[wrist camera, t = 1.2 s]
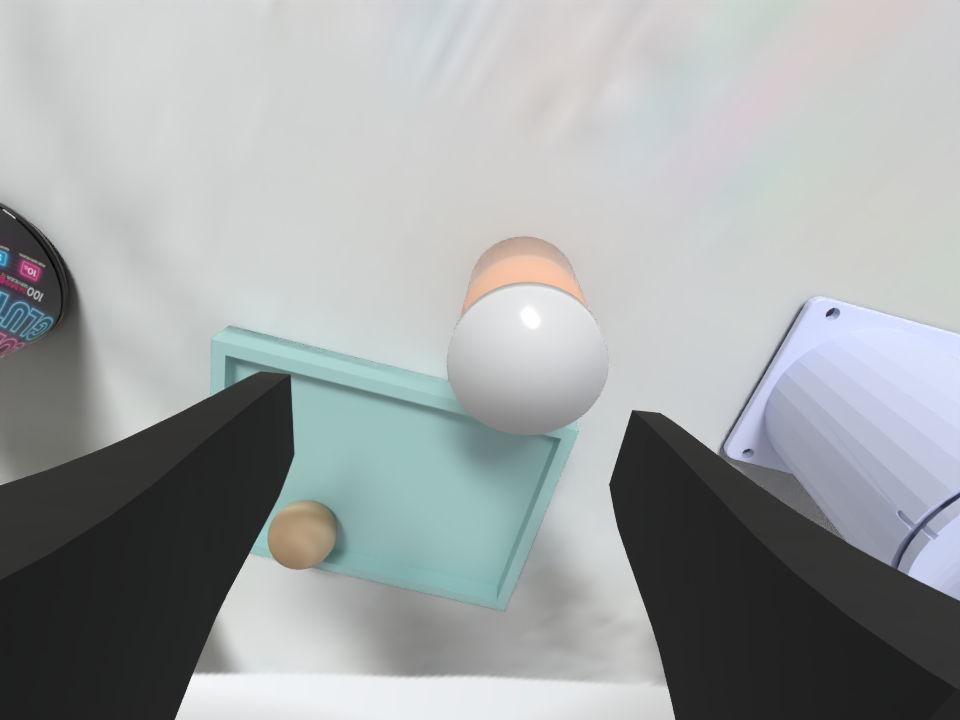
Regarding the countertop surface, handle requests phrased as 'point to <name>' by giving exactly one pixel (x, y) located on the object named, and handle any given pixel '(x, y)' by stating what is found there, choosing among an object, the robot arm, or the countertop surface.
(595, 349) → the shaker
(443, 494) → the tray
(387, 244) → the countertop surface
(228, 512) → the robot arm
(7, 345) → the supplement container
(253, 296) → the countertop surface
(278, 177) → the countertop surface
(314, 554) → the ball
